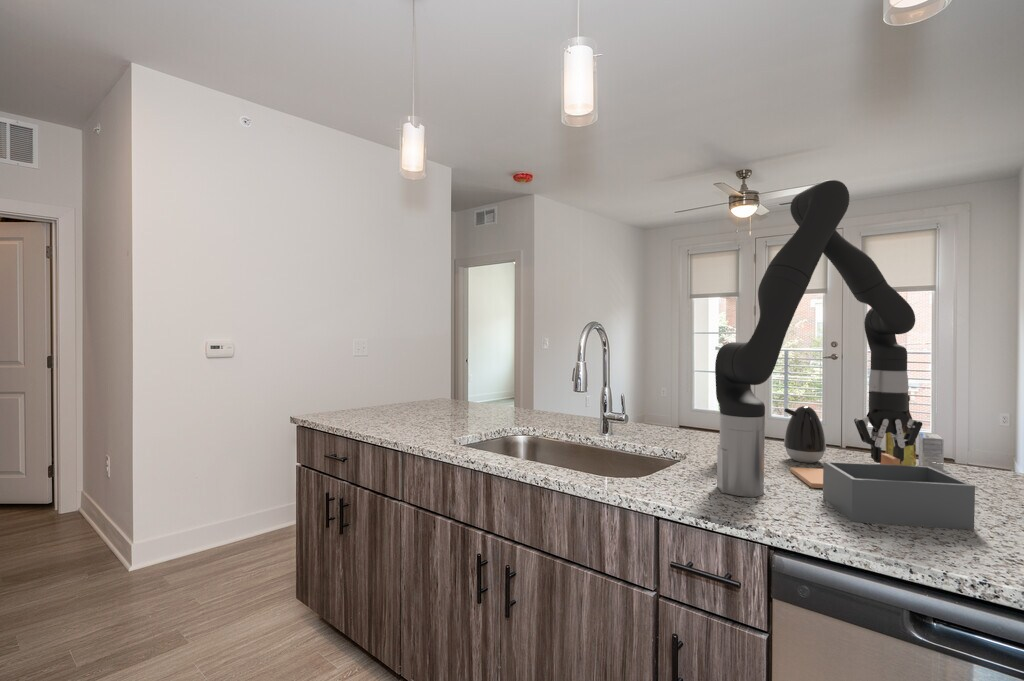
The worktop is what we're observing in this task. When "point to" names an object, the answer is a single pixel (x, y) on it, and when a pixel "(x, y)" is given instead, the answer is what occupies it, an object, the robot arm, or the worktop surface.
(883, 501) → the tub
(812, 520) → the worktop surface
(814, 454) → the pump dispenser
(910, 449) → the sauce bottle
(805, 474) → the lid
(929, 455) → the medicine box
